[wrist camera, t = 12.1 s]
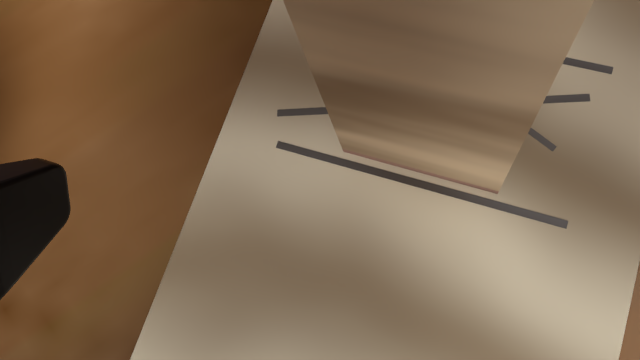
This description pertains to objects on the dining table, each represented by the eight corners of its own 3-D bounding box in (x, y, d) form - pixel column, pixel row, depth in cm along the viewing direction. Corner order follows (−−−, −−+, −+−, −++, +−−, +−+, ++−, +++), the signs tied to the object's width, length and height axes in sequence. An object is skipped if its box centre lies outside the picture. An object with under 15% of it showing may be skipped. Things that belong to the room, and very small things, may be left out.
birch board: (548, 624, 15) (557, 645, 14) (116, 432, 18) (99, 437, 17) (714, -136, 20) (729, -161, 19) (355, -180, 23) (353, -203, 22)
